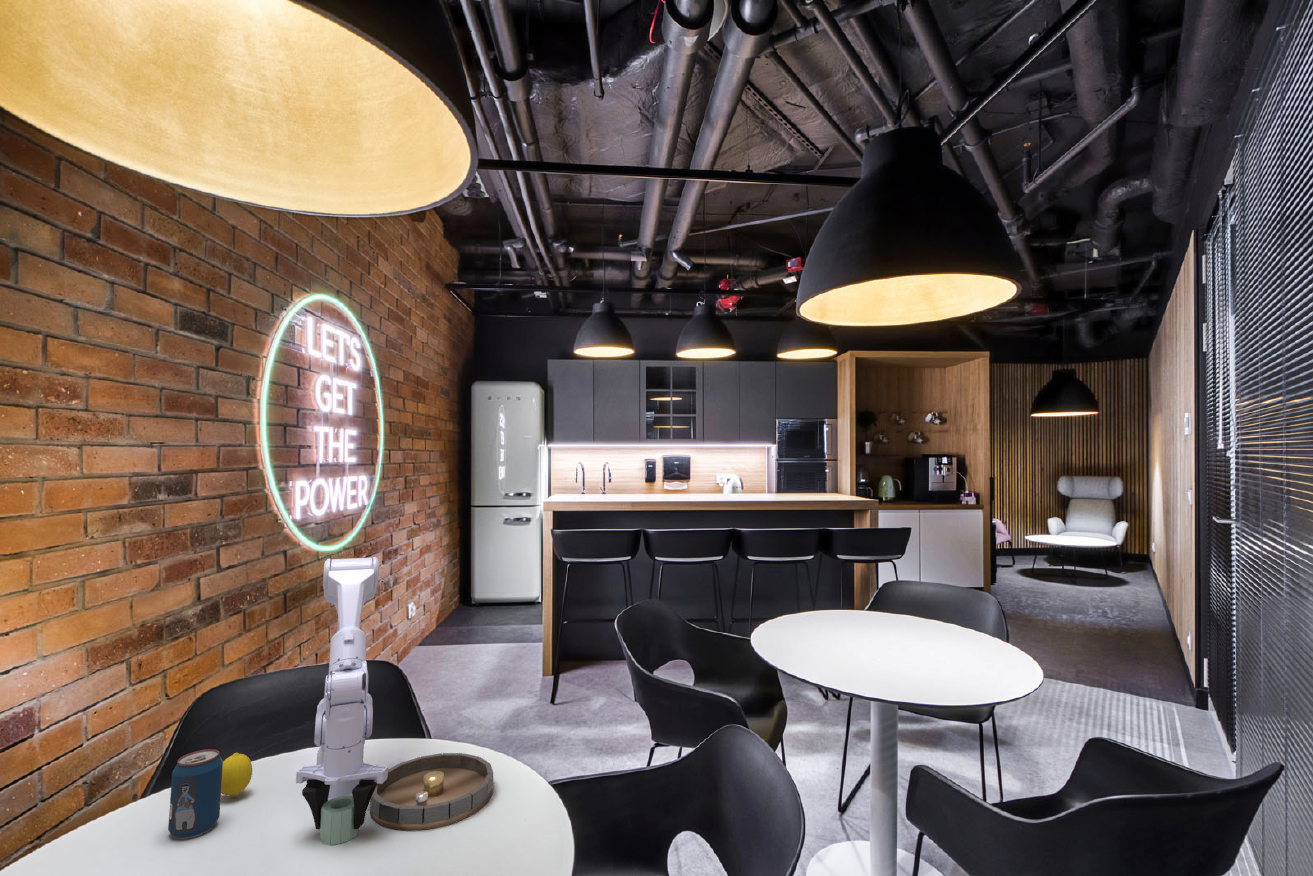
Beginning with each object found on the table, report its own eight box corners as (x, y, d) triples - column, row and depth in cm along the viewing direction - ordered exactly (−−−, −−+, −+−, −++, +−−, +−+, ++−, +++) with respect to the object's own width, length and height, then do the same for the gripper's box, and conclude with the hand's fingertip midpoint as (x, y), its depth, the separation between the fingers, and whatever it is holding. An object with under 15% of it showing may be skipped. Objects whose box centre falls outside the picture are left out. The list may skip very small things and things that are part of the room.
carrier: (351, 797, 112) (352, 775, 112) (459, 760, 127) (459, 741, 128) (398, 846, 97) (399, 820, 97) (514, 798, 112) (514, 775, 113)
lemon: (208, 801, 110) (210, 756, 111) (238, 787, 116) (241, 744, 116) (227, 807, 108) (230, 762, 109) (257, 793, 113) (260, 749, 114)
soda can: (215, 814, 106) (219, 744, 107) (222, 830, 101) (227, 756, 102) (165, 829, 101) (170, 756, 102) (170, 847, 96) (175, 770, 98)
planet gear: (315, 834, 100) (317, 803, 101) (351, 821, 104) (352, 791, 105) (326, 849, 96) (328, 816, 97) (363, 834, 100) (364, 803, 101)
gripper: (286, 752, 97) (282, 839, 96) (375, 752, 97) (372, 840, 96) (311, 734, 104) (307, 815, 103) (394, 734, 105) (391, 816, 103)
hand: (339, 826), depth 100 cm, fingers closed on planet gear, 6 cm apart
